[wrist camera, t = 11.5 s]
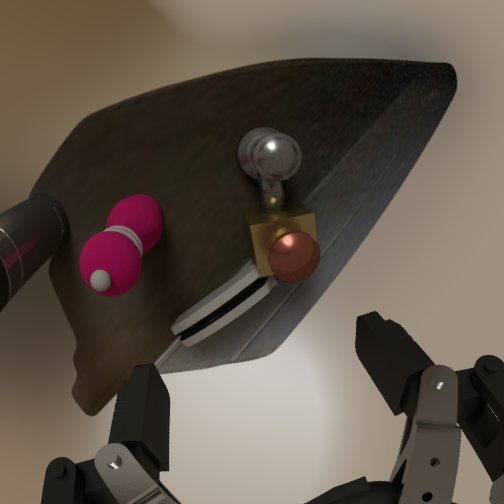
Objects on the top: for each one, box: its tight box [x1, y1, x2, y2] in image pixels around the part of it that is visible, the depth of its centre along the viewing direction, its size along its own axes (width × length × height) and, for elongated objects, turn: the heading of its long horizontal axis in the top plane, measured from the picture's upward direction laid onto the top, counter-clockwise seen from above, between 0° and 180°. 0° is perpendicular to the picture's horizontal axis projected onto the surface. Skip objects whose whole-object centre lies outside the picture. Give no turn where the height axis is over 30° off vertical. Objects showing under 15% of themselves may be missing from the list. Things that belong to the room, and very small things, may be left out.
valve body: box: [236, 127, 320, 282], centre depth 36 cm, size 8×18×11 cm, turn 10°
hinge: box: [171, 263, 277, 347], centre depth 43 cm, size 17×5×10 cm, turn 126°
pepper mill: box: [80, 194, 163, 296], centre depth 31 cm, size 7×7×20 cm
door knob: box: [245, 133, 301, 181], centre depth 34 cm, size 5×5×7 cm
